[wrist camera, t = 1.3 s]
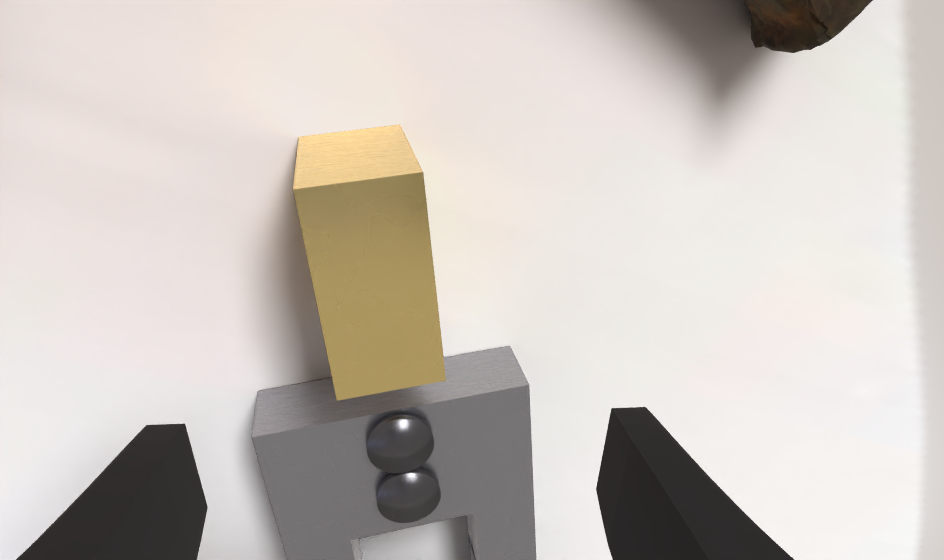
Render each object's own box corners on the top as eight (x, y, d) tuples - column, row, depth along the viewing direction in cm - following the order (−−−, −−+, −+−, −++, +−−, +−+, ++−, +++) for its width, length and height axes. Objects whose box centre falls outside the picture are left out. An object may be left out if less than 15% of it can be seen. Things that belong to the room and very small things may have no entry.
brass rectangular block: (421, 297, 22) (445, 380, 18) (333, 312, 22) (337, 400, 18) (399, 123, 20) (423, 171, 15) (298, 136, 19) (293, 189, 15)
